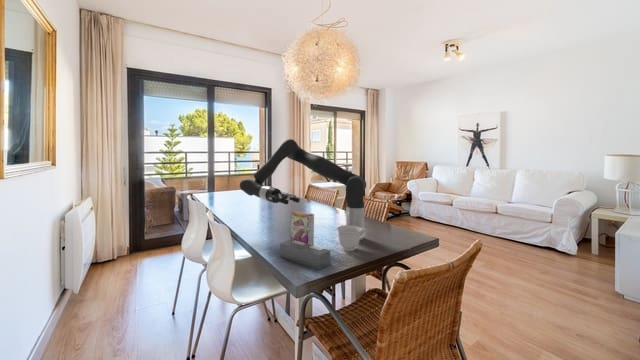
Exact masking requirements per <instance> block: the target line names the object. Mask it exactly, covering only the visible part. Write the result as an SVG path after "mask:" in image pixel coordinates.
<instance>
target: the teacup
mask: <svg viewBox="0 0 640 360" xmlns="http://www.w3.org/2000/svg"><path fill="white" fill-rule="evenodd" d="M336 230H337V232H338V240H339V244H340V246H341V247H342V250H343V251H345V252H354V251H355V250H356V248H357V247H358V246H359V244H360V241H359V240H360V239H361V238H363V237H364V238H365V237H366V236H367V233H368V232H367V228H365V227H364V228H360V227H357V226H351V225H346V224H345V225H344V224H343V225H339V226H338V227H336ZM363 230H364V234H363V235H362V236H360V234H361V233H362V231H363ZM364 238H363V239H364Z"/></svg>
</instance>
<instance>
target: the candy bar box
mask: <svg viewBox="0 0 640 360" xmlns="http://www.w3.org/2000/svg"><path fill="white" fill-rule="evenodd" d="M314 232H315V213H311V212H307V211H306V212H305V211H299V210H294V211H290V240H291V239H293V240H296V241H299V242H303V243H306V244H310V245H313V246H315V245H314V242H315V239H314V237H315V236H314V234H315V233H314Z"/></svg>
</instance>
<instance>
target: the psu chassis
mask: <svg viewBox="0 0 640 360" xmlns="http://www.w3.org/2000/svg"><path fill="white" fill-rule="evenodd" d="M279 246H280V248H279V249H280V250H279V254H280V255H279V256H280V258H281V257H282V258H283V259H287V260H289V261H292V262H295V263H298V264H300V265H303V266H306V267H309V268H313V269H314V270H318V271H321V270H322V269H324V268H327V267H329V266H330V265H331V250H330V249H327V248H323V247H320V246H316V245H314V246H313V245H310V244H306V243H303V242H299V241H296V240H293V239H291V238H290V239H288V240H285V241H282V242H280V243H279Z"/></svg>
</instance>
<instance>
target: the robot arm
mask: <svg viewBox="0 0 640 360" xmlns="http://www.w3.org/2000/svg"><path fill="white" fill-rule="evenodd" d="M286 158H288V159H290V160H292V161H295V162H298V163H299V164H302V165H304V167H307V168H308V169H309V170H311V171H312V172H314V173H316V174H317V175H319V176H322V177H323V178H325V179H329V180H332V181H336V182H339V183H341V184H342V185H344V186H345V203H346V213H345V214H346V216H345V218H346V219H345V225H351V226H357V227H360V228H365V201H364V191H365V190H366V188H367V182H366V180H365V178H363V177H362V176H361V175H357V174H356V173H352V172H351V171H348V170H346V169H344V168H342V167H341V166H340V165H338V164H336V163H334V162H333V161H331V160H330V159H328V158H325V157H324V156H321V155H317V154H313V153H309V152H307V150H305V149H302V147H300V145H298V143H297V141H296V140H294V139H292V138H289V139H286V140H285V141H283V142H282V143H281V145H280V146H279V147H278V149H277V150H276V151H275V152H274V153H273V154H272V156H271V157H270V158H269V159H268V160H267V162H265V163H264V164H263V165H262V166H260V168H258V170H256V171H255V173H254V174H253V177H254V180H252V179H250V178H245V179H242V180H240V183H239V188H240V190H241V191H243V192H244V193H245V194H246V195H248V196H251V197H252V196H255V197H257V198H259V199H262V200H265V201H267V202H269V203H273V204H278V203H279V204H283V205H289V202H294V203H300V201H301V200H300V197H297V196H296V195H294V194H291V193H283V192H282V191H281V189H279V188H277V187H274V186H270V185H264V182H266V181H267V180H269V178H270V177H271V176H272V175H273V174H274V173H275V171H276V169H277V168H278V166H279V165H280V164H281V162H282V161H283V160H284V159H286ZM364 233H365V230H363V231H362V233H361V234H360V236H362V235H363V234H364ZM364 238H365V237H363V238H361V239H360V240H359V242H361V241H363V240H364Z"/></svg>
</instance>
